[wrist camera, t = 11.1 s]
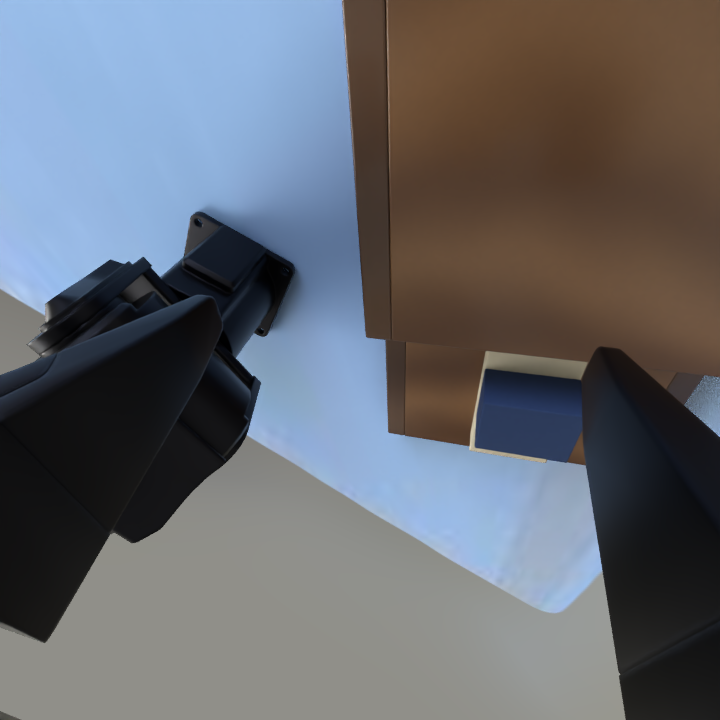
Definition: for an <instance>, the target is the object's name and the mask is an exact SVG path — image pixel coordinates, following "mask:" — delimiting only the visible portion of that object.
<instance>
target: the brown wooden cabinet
mask: <svg viewBox="0 0 720 720" xmlns="http://www.w3.org/2000/svg"><path fill="white" fill-rule="evenodd" d="M342 9H343V23H344V37H345V51H346V65H347V79H348V93H349V107H350V121H351V135H352V149H353V163H354V177H355V191H356V205H357V219H358V234H359V248H360V262H361V276H362V290H363V304H364V318H365V332H366V337H367V338H375V339H384V340H386V372H387V406H388V432H389V433H393V434H399V435H405V436H411V437H417V438H423V439H429V440H435V441H441V442H447V443H453V444H459V445H465V446H470V433H471V428H472V422H473V417H474V412H475V406H476V401H477V395H478V390H479V385H480V379H481V374H482V369H483V363H484V358H485V352H486V351H491V352H500V353H509V354H518V355H527V356H536V357H545V358H554V359H563V360H572V361H581V362H588V363H587V365H586V368H587V366H588V364H589V362H590V360H591V358H592V355H593V353H594V351H595V350H596V349H597V348H598V347H600V346H604V347H611V348H618V349H621V350H622V351H623V352H625V353H626V354H627V355H628V356H629V357H630V358H631V359H632V360H634V361H635V362H636V363H637V364H638V365H639V366H640V367H641V368H643V369H644V370H645V371H646V372H647V373H648V374H649V375H650V376H652V377H653V378H654V379H655V380H656V381H657V382H658V383H659V384H661V385H662V386H663V387H664V388H665V389H666V390H667V391H668V392H670V393H671V394H672V395H673V396H674V397H675V398H676V399H677V400H679V401H680V402H681V403H682V404H683V405H684V404H685V403H686V401H687V400H688V398H689V397H690V395H691V394H692V392H693V391H694V390H695V388H696V387H697V385H698V384H699V382H700V381H701V380H702V378H703V377H704V375H707V376H716V377H720V0H342ZM586 368H585V370H586ZM585 370H584V372H585ZM583 375H584V373H583ZM583 375H582V377H581V383H582V378H583ZM567 462H569V463H575V464H581V465H586V462H585V456H584V448H583V430H582V432H581V434H580V436H579V438H578V440H577V442H576V445H575V447H574V449H573V451H572V453H571V455H570V457H569V459H568V461H567Z"/></svg>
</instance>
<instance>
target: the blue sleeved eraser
mask: <svg viewBox="0 0 720 720" xmlns="http://www.w3.org/2000/svg"><path fill="white" fill-rule="evenodd" d="M587 363H588V362H581V361H572V360H563V359H554V358H545V357H536V356H527V355H518V354H509V353H500V352H491V351H486V352H485V358H484V363H483V369H482V374H481V379H480V385H479V390H478V395H477V401H476V406H475V412H474V417H473V422H472V428H471V433H470V447H469V449H470V451H476V452H482V453H488V454H494V455H500V456H506V457H512V458H518V459H524V460H530V461H536V462H542V463H546V461H547V460H553V461H559V462H565V463H567V461H568V459H569V457H570V455H571V453H572V451H573V449H574V447H575V445H576V442H577V440H578V438H579V436H580V434H581V432H582V430H583V429H582V383H581V377H582V375H583V373H584V370H585V368H586V365H587Z"/></svg>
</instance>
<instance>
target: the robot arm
mask: <svg viewBox="0 0 720 720" xmlns="http://www.w3.org/2000/svg"><path fill="white" fill-rule="evenodd" d="M198 219H200V220H201V221H202V224H201V223H200V222H199V220H198ZM151 266H152V265H151V264H150V263H149V262H148V261H147V260H146V259H145V258H144V257H142V258H141V259H139V260H138V261H137V262H135V263H134V264H131V263H130V262H129V261H128V262H127V263H125V264H122V263H119V262H116V261H113V260H109V261H107V262H106V263H105V264H103V265H102V266H100V267H99V268H97V269H96V270H95V271H93V272H92V273H90V274H89V275H87V276H86V277H84V278H83V279H81V280H80V281H78V282H77V283H75V284H74V285H72V286H71V287H69V288H68V289H66V290H64V291H63V292H61V293H60V294H58V295H57V296H55V297H54V298H53V299H51V300H50V301H48V302H47V303H46V304H45V324H43V325H42V326H41V327H39V328H38V329H39V330H40V331H41V333H40V334H39V335H38V336H37V337H35V338H34V339H33V340H32V341H30V342H29V343H28V344H27V346H29V347H30V348H31V349H32V350H34V351H35V352H36V353H37V354H39V355H40V356H41V357H40V358H39V359H37V360H36V361H35V362H33V363H30V364H28V365H25V366H23V367H21V368H18V369H16V370H13V371H10V372H7V373H5V374H2V375H0V627H1V628H3V629H6V630H9V631H12V632H15V633H17V634H20V635H23V636H26V637H29V638H32V639H34V640H37V641H40V642H43V643H45V642H46V641H47V640H48V639H49V637H50V636H51V634H52V633H53V631H54V630H55V628H56V626H57V624H58V623H59V621H60V619H61V618H62V616H63V614H64V612H65V611H66V609H67V607H68V606H69V604H70V602H71V601H72V599H73V597H74V595H75V594H76V592H77V590H78V589H79V587H80V585H81V583H82V582H83V580H84V578H85V577H86V575H87V573H88V571H89V570H90V568H91V566H92V564H93V563H94V561H95V559H96V557H97V556H98V554H99V553H100V551H101V549H102V547H103V546H104V544H105V542H106V540H107V539H108V537H109V535H110V534H112V533H116V534H118V535H119V536H121V537H122V538H124V539H126V540H127V541H129V542H130V543H136V542H138V541H140V540H142V539H144V538H146V537H148V536H149V535H151V534H153V533H155V532H157V531H158V530H160V529H161V528H162V527H163V526H164V525H165V523H166V522H167V521H168V520H169V519H170V517H171V516H172V515H173V514H174V512H175V511H176V510H177V509H178V507H179V506H180V505H181V504H182V503H183V502H184V500H185V499H186V498H187V497H188V496H189V495H190V493H191V492H192V491H193V490H194V489H195V488H197V487H198V486H199V485H200V484H201V483H202V482H203V481H204V480H205V479H206V478H207V477H208V476H209V475H211V474H212V473H213V472H215V471H216V470H217V469H219V468H220V467H221V466H223V465H224V464H225V463H226V462H227V461H228V460H229V459H230V458H231V457H232V456H233V455H234V454H235V453H236V451H237V450H238V449H239V447H240V446H241V445H242V443H243V441H244V439H245V437H246V435H247V432H248V429H249V426H250V422H251V418H252V414H253V411H254V407H255V403H256V400H257V396H258V392H259V389H260V385H261V382H260V381H259V380H258V379H257V378H256V377H255V376H252V375H251V374H250V373H249V372H248V371H247V370H246V369H245V368H244V367H243V365H242V364H241V363H240V362H239V361H238V360H237V359H236V357H237V356H238V354H239V353H240V351H241V350H242V349H243V347H244V346H245V344H246V343H247V342H248V340H249V339H250V337H251V336H252V335H253V333H255V334H257V335H259V336H262V337H264V336H266V335H267V334H268V333H269V331H270V329H271V327H272V325H273V322H274V320H275V318H276V315H277V313H278V311H279V308H280V306H281V304H282V301H283V299H284V297H285V294H286V292H287V290H288V287H289V285H290V283H291V280H292V278H293V276H294V274H295V267H294V265H293V264H292V263H291V262H289V261H287V260H286V259H284V258H282V257H280V256H279V255H277V254H275V253H273V252H272V251H270V250H268V249H266V248H264V247H263V246H261V245H260V244H258V243H256V242H254V241H253V240H251V239H249V238H247V237H246V236H244V235H242V234H240V233H239V232H237V231H235V230H233V229H232V228H230V227H228V226H226V225H224V224H222V223H221V222H219V221H217V220H215V219H214V218H212V217H210V216H208V215H207V214H205V213H203V212H196V213H195V214H193V215H192V216H191V218H190V223H189V229H188V235H187V241H186V247H185V253H184V257H183V258H182V259H181V260H180V261H179V262H178V263H176V264H175V265H174V266H173V267H172V268H171V269H169V270H168V271H167V272H166V273H165V274H164V275H162V276H161V277H159V276H158V275H157V274H156V273H155V271H154V270H153V269H152V268H151ZM284 268H286V269H287V270H288V271H289V272H286V271H285V270H284ZM261 328H262V329H263V330H262V329H261ZM582 429H583V448H584V456H585V462H586V469H587V475H588V481H589V488H590V494H591V500H592V507H593V513H594V520H595V526H596V532H597V539H598V545H599V551H600V558H601V564H602V570H603V577H604V583H605V589H606V595H607V601H608V608H609V615H610V621H611V627H612V633H613V640H614V646H615V653H616V659H617V665H618V671H619V673H620V675H619V679H620V686H621V692H622V699H623V704H624V711H625V718H626V720H720V437H719V436H718V435H717V434H716V433H714V432H713V431H712V430H711V429H710V428H709V427H708V426H707V425H705V424H704V423H703V422H702V421H701V420H700V419H699V418H698V417H696V416H695V415H694V414H693V413H692V412H691V411H690V410H689V409H688V408H686V407H685V406H684V405H683V404H682V403H681V402H680V401H679V400H677V399H676V398H675V397H674V396H673V395H672V394H671V393H670V392H668V391H667V390H666V389H665V388H664V387H663V386H662V385H661V384H659V383H658V382H657V381H656V380H655V379H654V378H653V377H652V376H650V375H649V374H648V373H647V372H646V371H645V370H644V369H643V368H641V367H640V366H639V365H638V364H637V363H636V362H635V361H634V360H632V359H631V358H630V357H629V356H628V355H627V354H626V353H625V352H623V351H622V350H621V349H618V348H611V347H604V346H600V347H598V348H597V349H596V350H595V351H594V353H593V355H592V358H591V360H590V362H589V364H588V366H587V368H586V370H585V372H584V375H583V378H582ZM0 720H20V719H18V718H15V717H13V716H10V715H8V714H6V713H3V712H1V711H0Z"/></svg>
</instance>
